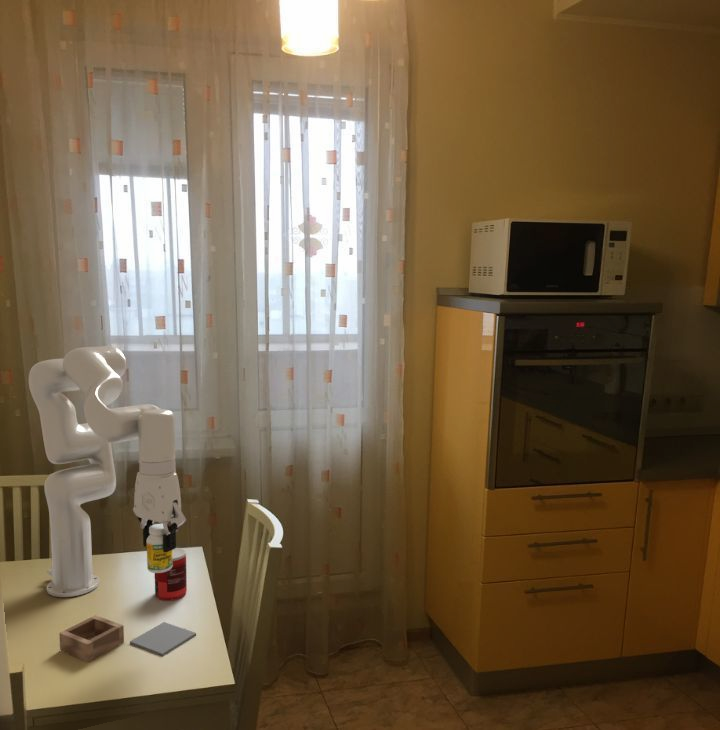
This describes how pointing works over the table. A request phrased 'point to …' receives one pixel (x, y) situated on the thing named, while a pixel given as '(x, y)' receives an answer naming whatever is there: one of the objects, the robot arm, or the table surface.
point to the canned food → (172, 578)
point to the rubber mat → (163, 638)
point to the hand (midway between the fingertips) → (159, 546)
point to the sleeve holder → (88, 650)
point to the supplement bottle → (157, 551)
